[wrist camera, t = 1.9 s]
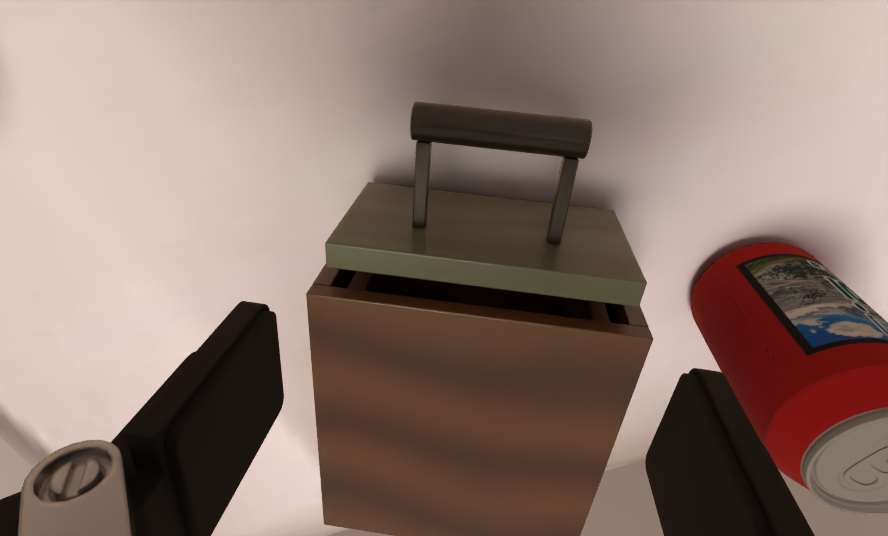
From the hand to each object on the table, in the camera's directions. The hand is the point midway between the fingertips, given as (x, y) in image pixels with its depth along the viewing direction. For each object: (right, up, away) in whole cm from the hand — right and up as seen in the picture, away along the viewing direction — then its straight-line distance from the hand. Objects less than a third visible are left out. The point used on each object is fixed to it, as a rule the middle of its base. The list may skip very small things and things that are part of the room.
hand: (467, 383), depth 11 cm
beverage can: (+17, +2, +17) cm, 24 cm away
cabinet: (+1, -2, +20) cm, 20 cm away
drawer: (+1, +2, +17) cm, 17 cm away
